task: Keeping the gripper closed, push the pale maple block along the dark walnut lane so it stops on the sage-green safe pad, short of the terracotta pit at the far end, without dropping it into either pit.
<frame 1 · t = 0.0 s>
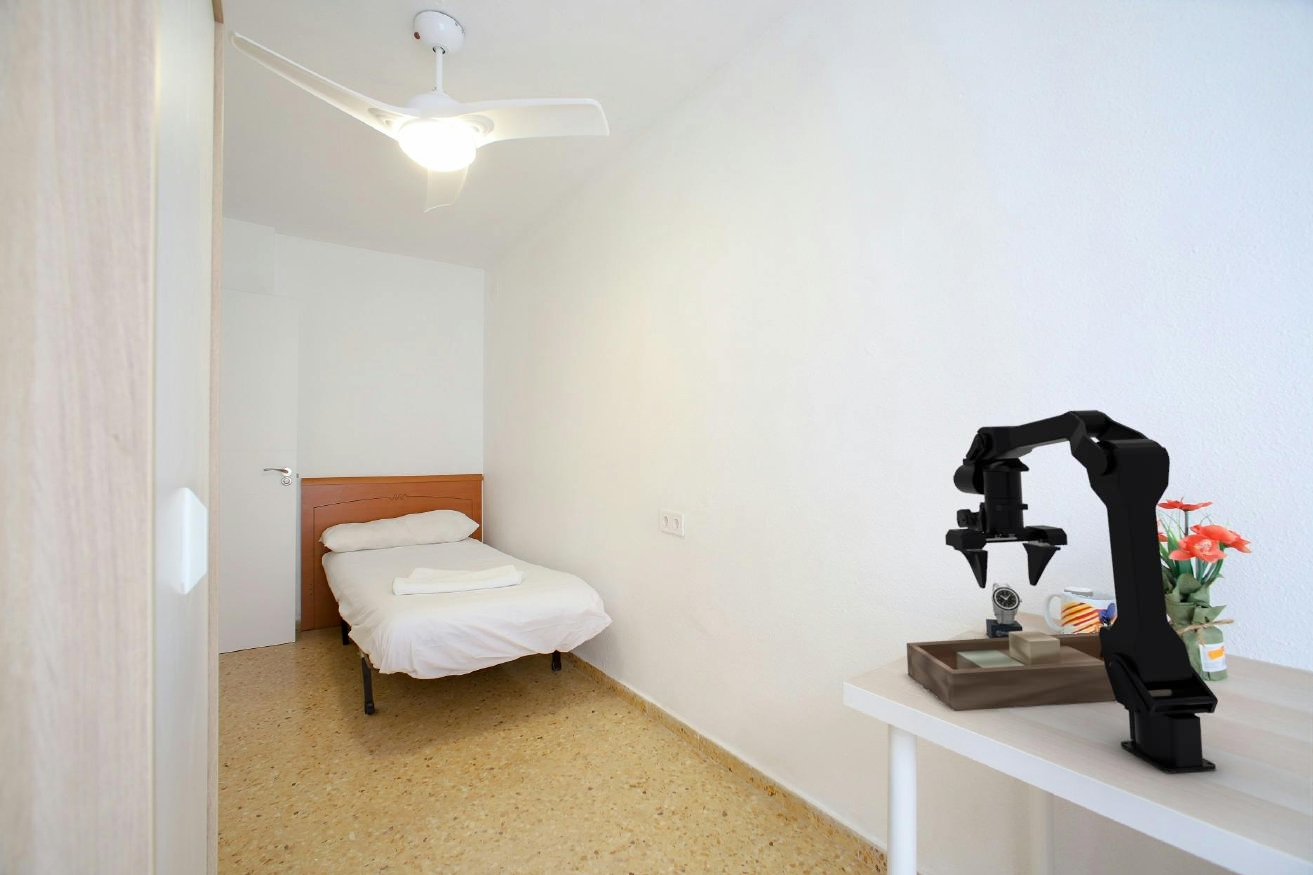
hand: (1007, 586, 99), 15 cm above the table, tool pointing down, fingers open, 9 cm apart
pill bottle: (1081, 639, 114), on the table
maple block: (1034, 660, 93), point 4 cm above the table, touching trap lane
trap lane: (1036, 684, 93), on the table
watch: (1004, 639, 116), on the table
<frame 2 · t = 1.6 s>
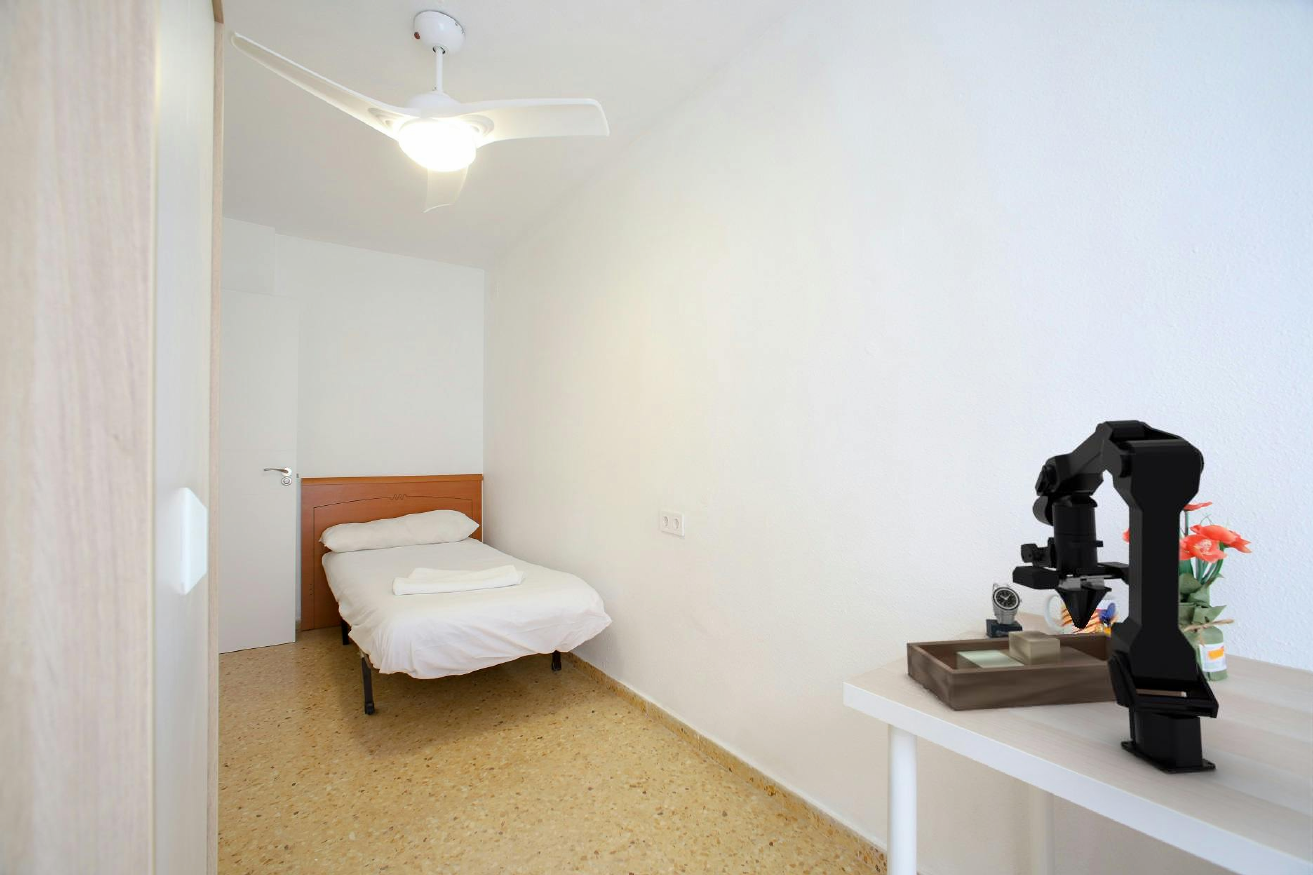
hand: (1080, 627, 94), 9 cm above the table, tool pointing down, fingers closed
nothing on the table moved.
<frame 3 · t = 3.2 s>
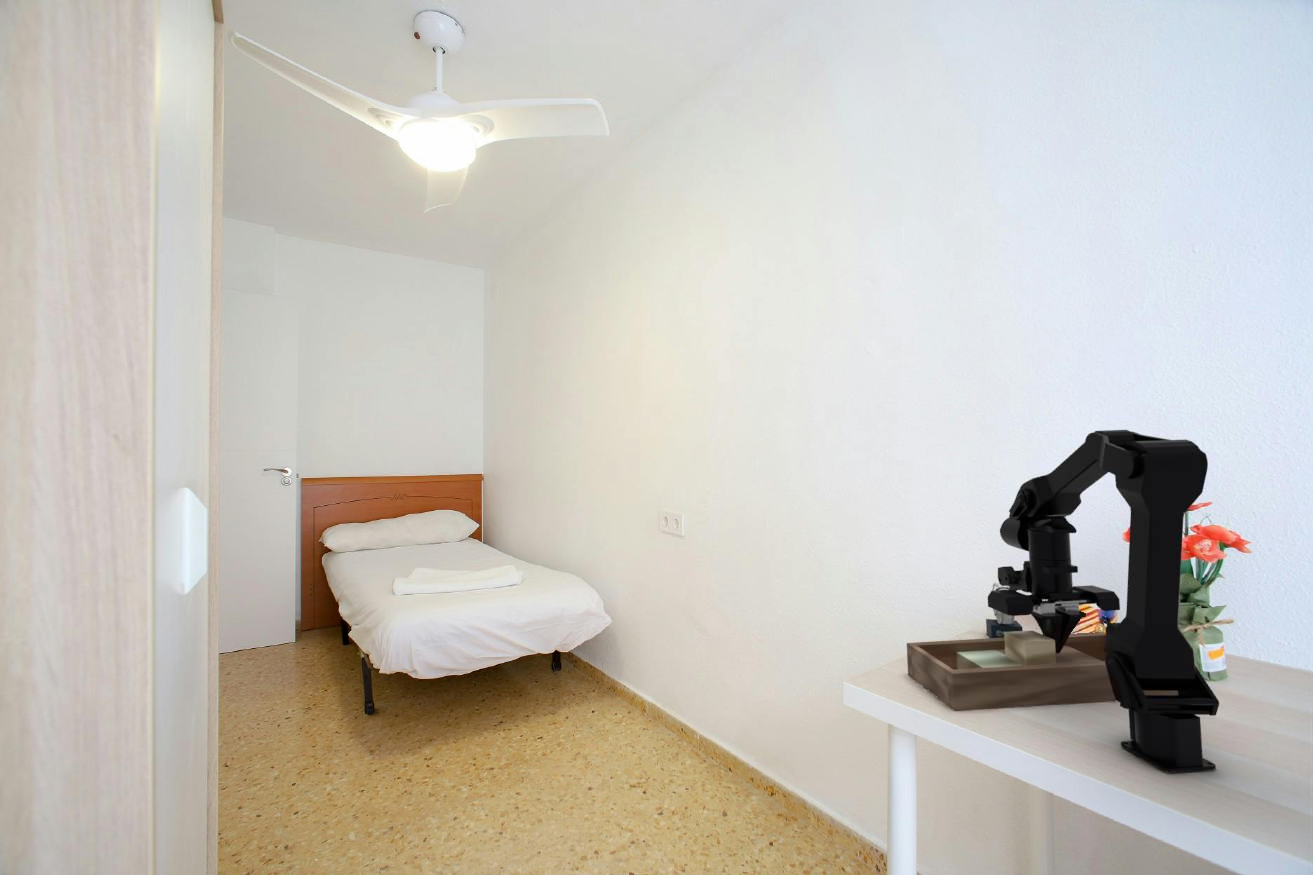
hand: (1055, 652, 94), 5 cm above the table, tool pointing down, fingers closed
nothing on the table moved.
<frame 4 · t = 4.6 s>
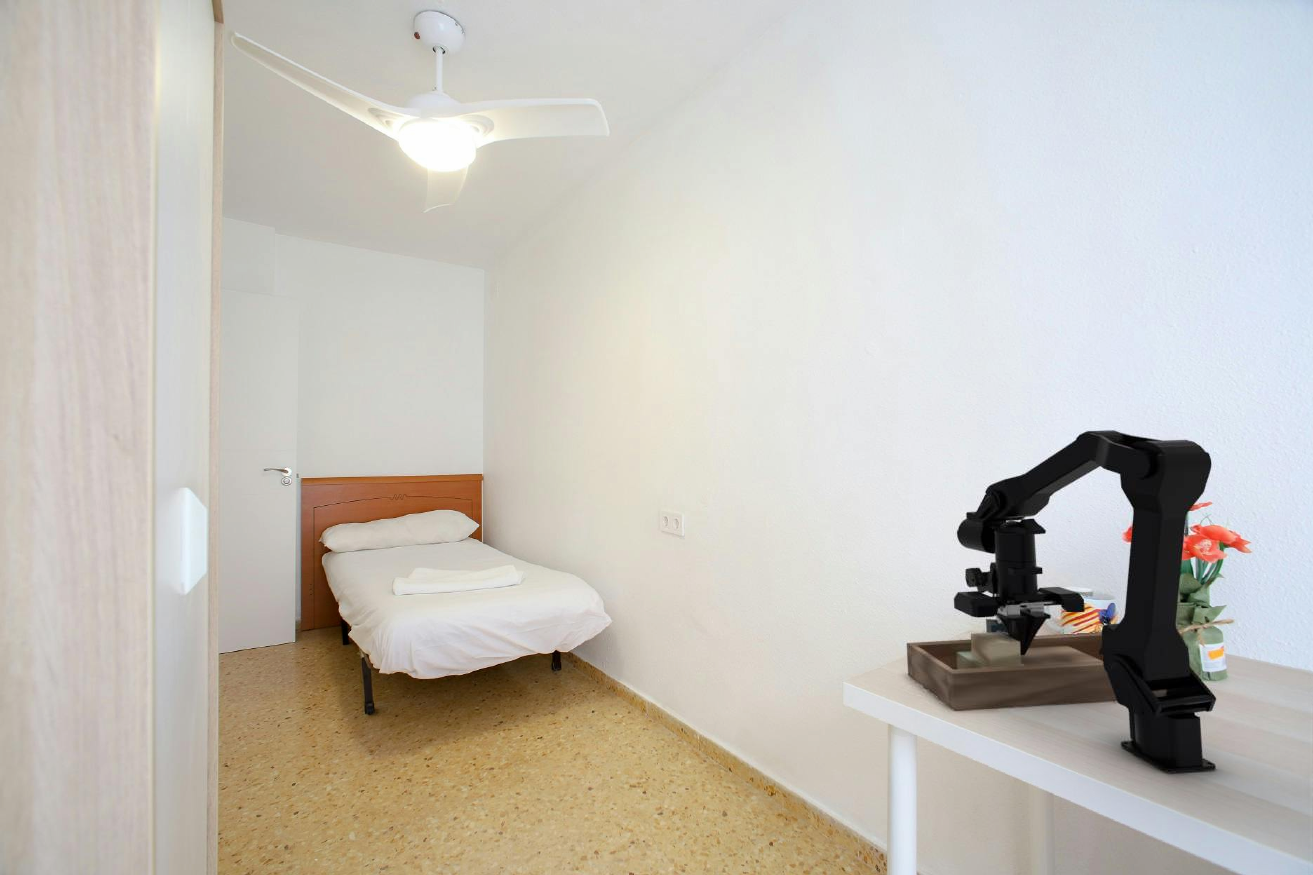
hand: (1020, 654, 93), 5 cm above the table, tool pointing down, fingers closed
maple block: (995, 662, 93), point 4 cm above the table, touching gripper, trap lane
everything else where it was.
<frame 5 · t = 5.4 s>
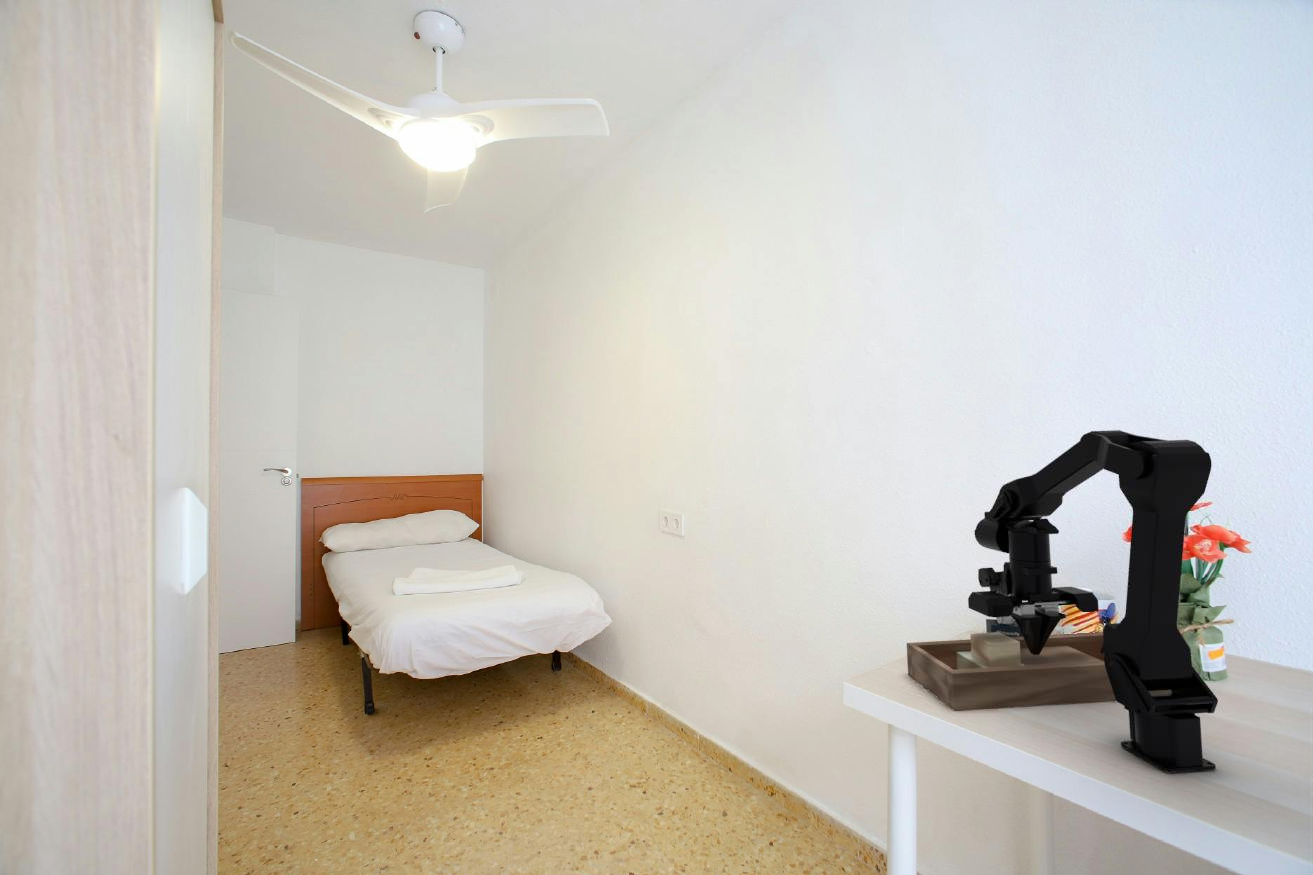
hand: (1034, 654, 93), 5 cm above the table, tool pointing down, fingers closed
maple block: (995, 662, 93), point 4 cm above the table, touching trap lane
everything else where it was.
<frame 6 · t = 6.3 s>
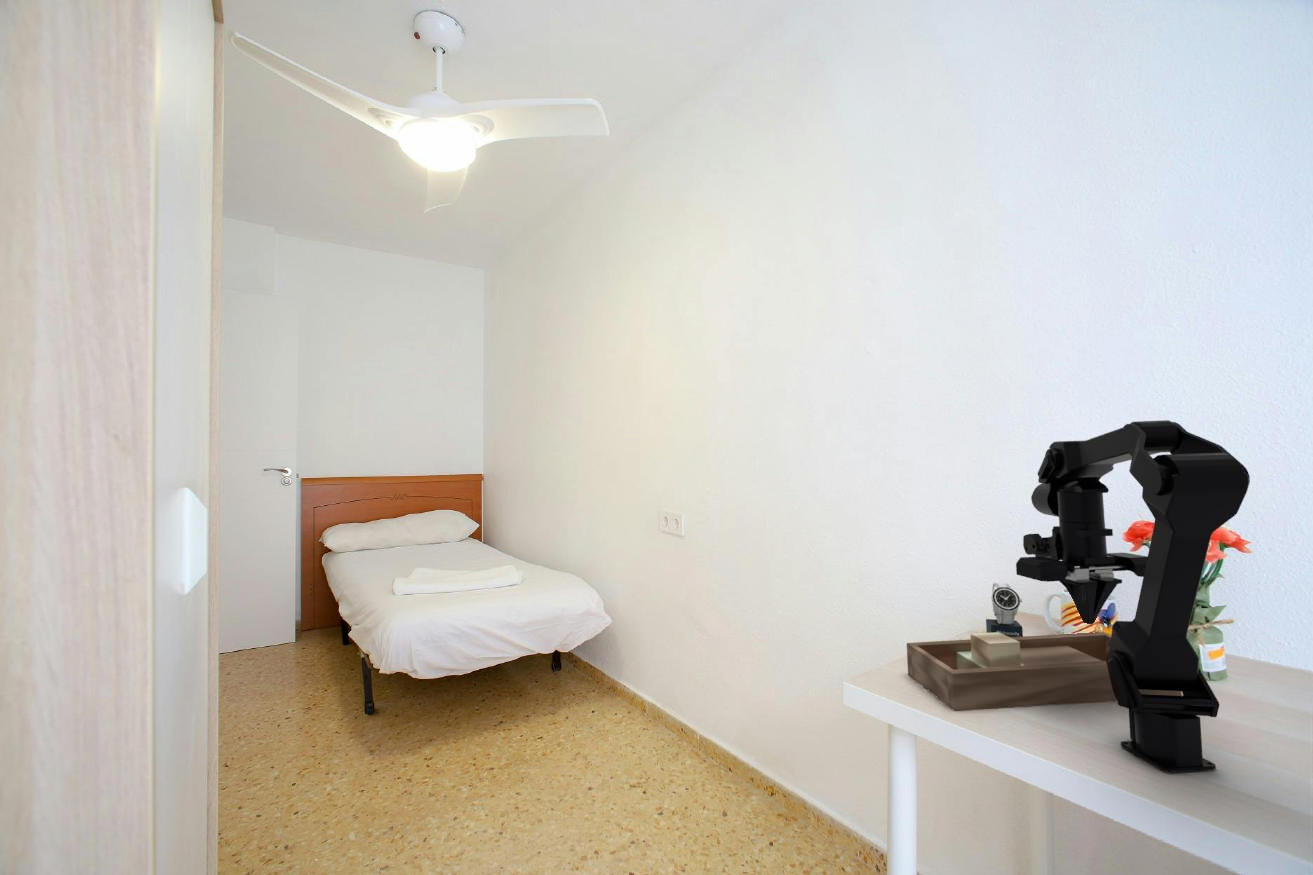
hand: (1088, 623, 88), 12 cm above the table, tool pointing down, fingers closed
nothing on the table moved.
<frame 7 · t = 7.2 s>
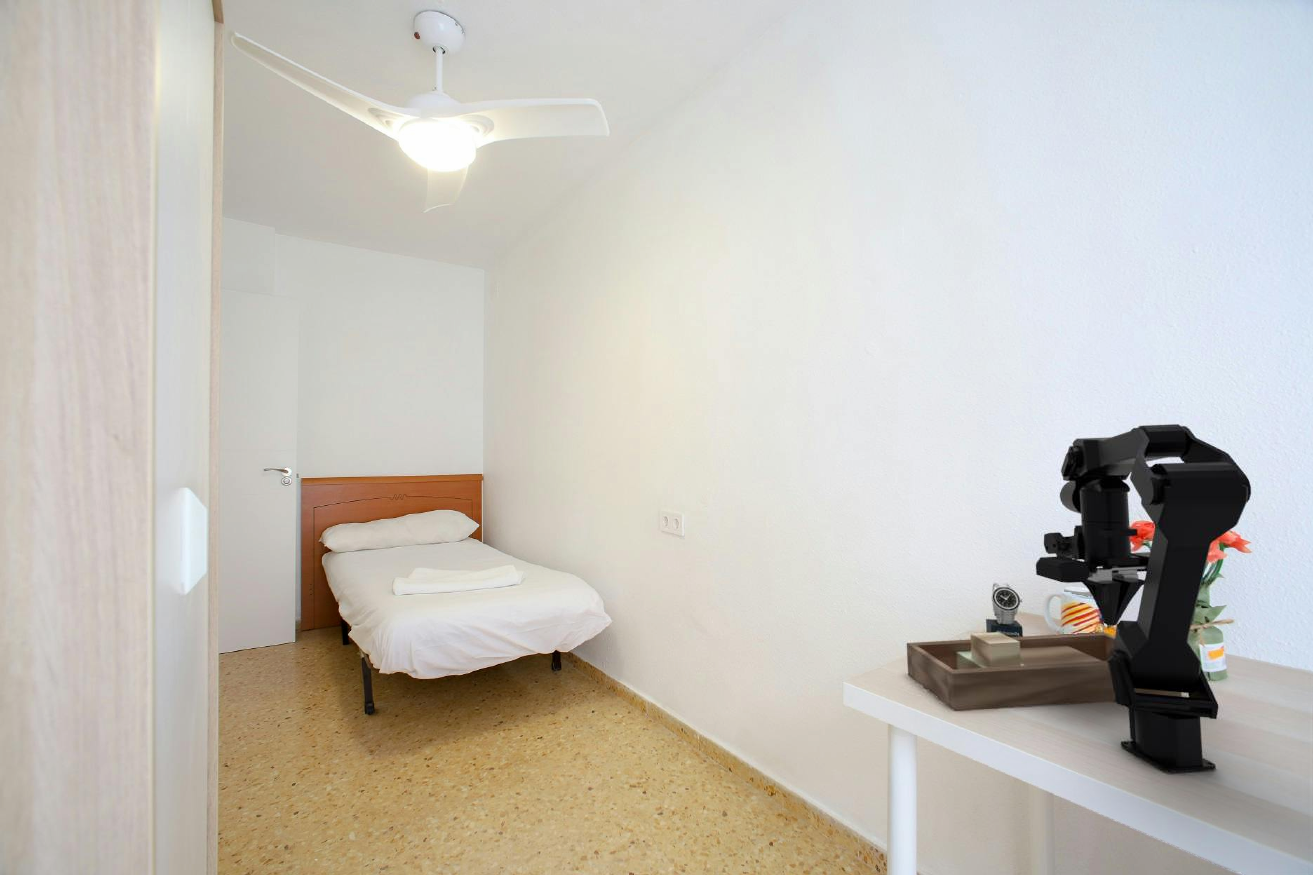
hand: (1110, 624, 85), 12 cm above the table, tool pointing down, fingers closed
nothing on the table moved.
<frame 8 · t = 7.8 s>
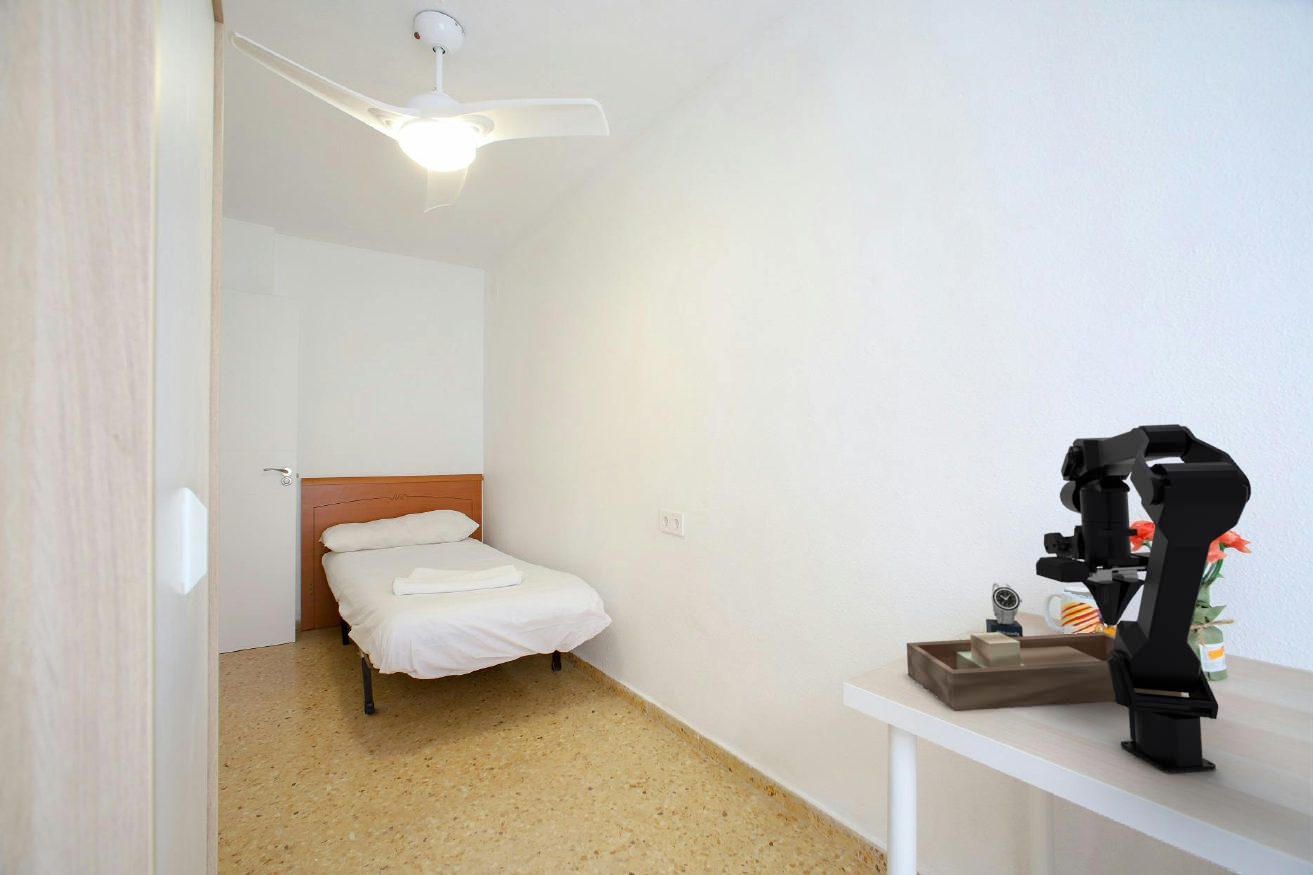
hand: (1110, 624, 85), 12 cm above the table, tool pointing down, fingers closed
nothing on the table moved.
at the end: maple block 0.4 cm from the target spot, point 4.0 cm above the table; maple block tilted 0° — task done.
